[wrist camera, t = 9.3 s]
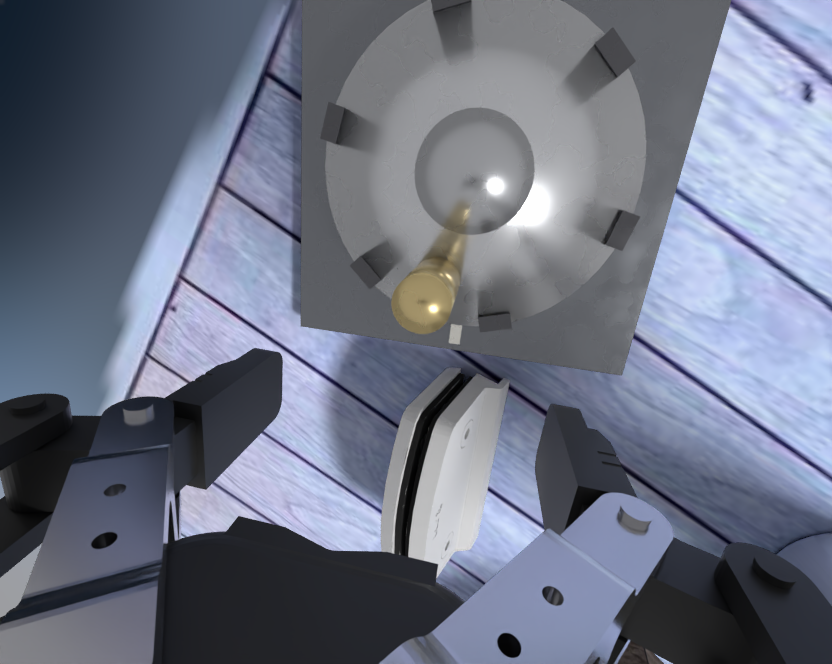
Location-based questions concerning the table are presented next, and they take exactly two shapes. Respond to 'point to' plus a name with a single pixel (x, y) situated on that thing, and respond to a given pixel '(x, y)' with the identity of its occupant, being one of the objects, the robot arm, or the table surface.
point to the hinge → (442, 467)
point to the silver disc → (485, 159)
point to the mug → (638, 655)
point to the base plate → (623, 270)
